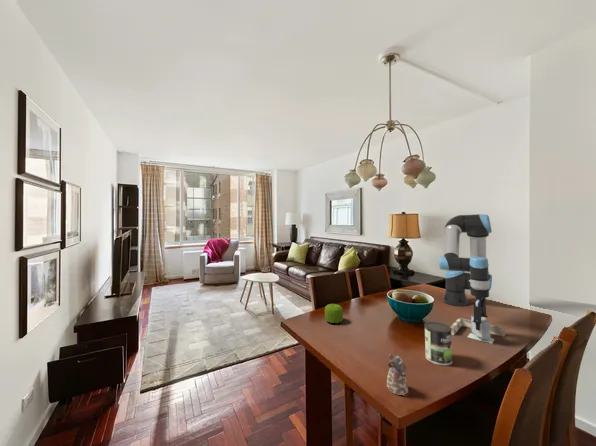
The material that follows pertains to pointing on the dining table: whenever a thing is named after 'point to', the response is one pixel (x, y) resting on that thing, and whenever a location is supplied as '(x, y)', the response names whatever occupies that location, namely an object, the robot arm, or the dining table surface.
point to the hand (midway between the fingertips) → (480, 332)
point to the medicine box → (484, 327)
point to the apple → (333, 313)
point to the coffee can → (438, 343)
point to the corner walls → (467, 323)
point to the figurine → (397, 376)
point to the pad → (480, 338)
